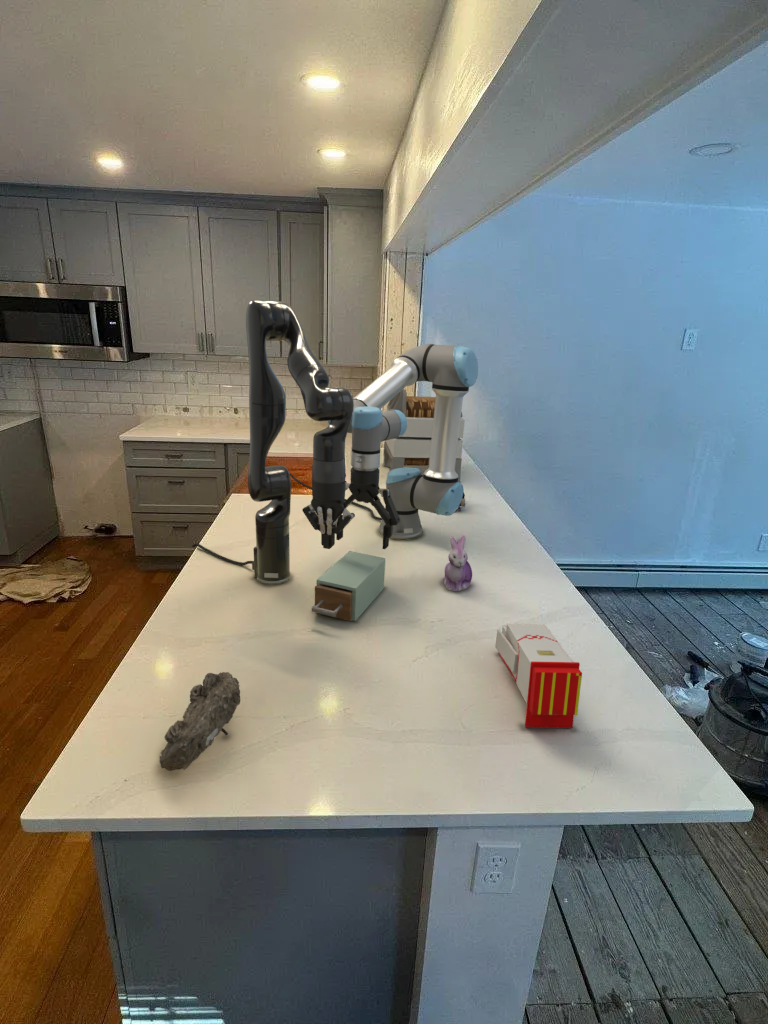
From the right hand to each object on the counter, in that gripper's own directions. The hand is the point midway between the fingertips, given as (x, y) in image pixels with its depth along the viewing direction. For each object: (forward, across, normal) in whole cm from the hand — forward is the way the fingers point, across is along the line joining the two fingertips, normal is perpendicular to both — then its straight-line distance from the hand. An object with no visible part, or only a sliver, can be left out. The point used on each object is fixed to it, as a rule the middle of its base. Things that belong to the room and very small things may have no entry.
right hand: (362, 543), depth 154 cm
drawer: (+13, 0, -11) cm, 17 cm away
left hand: (-6, 0, -21) cm, 22 cm away
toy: (+14, +50, -24) cm, 57 cm away
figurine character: (+13, +6, +83) cm, 84 cm away
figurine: (+14, +24, +15) cm, 32 cm away
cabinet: (+14, 0, -6) cm, 16 cm away
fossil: (+15, -3, -63) cm, 65 cm away
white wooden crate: (+13, -22, +123) cm, 126 cm away
